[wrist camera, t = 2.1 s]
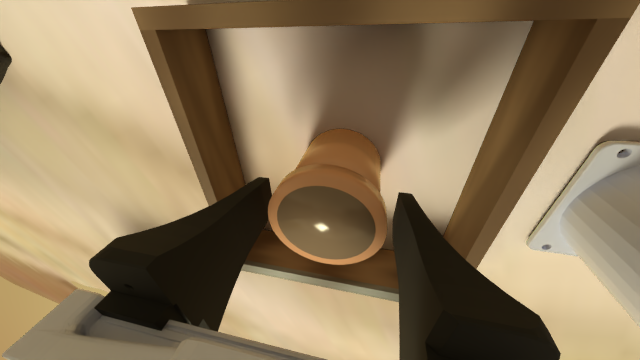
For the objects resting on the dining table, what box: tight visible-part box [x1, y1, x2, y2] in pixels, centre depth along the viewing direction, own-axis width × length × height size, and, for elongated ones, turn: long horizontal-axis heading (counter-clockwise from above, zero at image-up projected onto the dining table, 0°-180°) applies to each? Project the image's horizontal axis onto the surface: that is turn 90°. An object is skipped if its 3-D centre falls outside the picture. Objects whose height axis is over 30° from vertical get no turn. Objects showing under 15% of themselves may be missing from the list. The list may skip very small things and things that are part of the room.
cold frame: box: [131, 0, 640, 302], centre depth 14 cm, size 18×18×4 cm
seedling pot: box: [268, 129, 387, 265], centre depth 13 cm, size 6×6×6 cm
